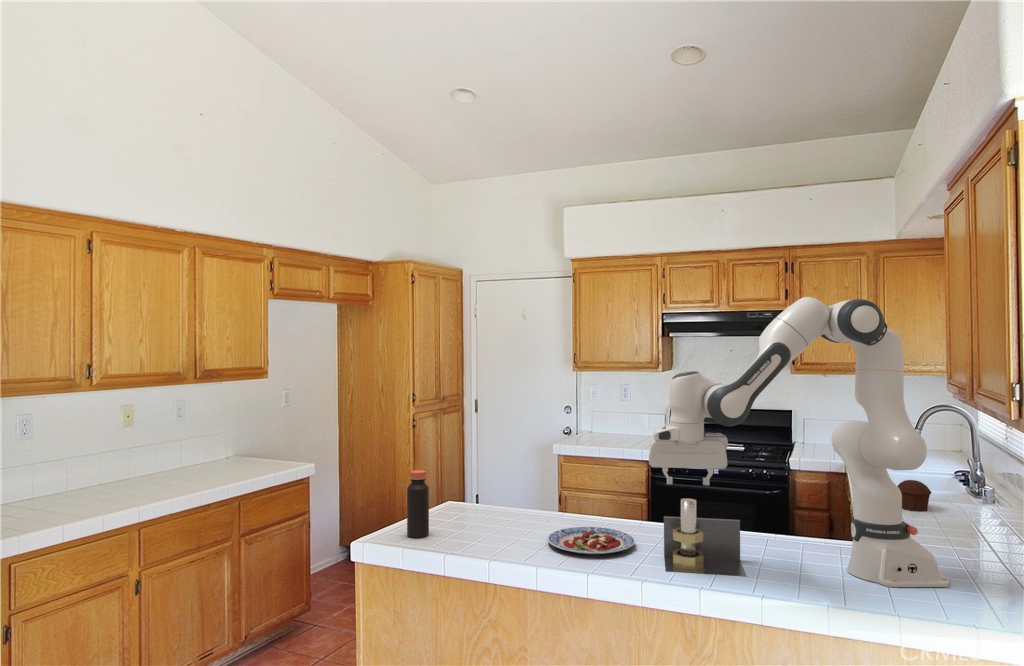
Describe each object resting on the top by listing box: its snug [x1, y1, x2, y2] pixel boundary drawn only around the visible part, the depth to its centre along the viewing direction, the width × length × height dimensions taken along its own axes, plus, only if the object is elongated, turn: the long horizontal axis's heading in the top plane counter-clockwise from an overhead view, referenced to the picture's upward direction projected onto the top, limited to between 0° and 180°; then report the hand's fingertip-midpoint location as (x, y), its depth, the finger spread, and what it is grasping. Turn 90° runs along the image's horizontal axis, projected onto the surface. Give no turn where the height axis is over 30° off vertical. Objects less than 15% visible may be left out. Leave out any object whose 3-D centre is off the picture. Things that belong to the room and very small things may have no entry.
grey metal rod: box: [680, 498, 697, 557], centre depth 175 cm, size 4×4×17 cm
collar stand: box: [663, 515, 748, 578], centre depth 174 cm, size 20×13×12 cm, turn 79°
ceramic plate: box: [546, 526, 636, 556], centre depth 196 cm, size 26×26×3 cm
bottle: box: [406, 469, 430, 539], centre depth 207 cm, size 7×7×20 cm
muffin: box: [897, 479, 932, 513], centre depth 238 cm, size 12×11×10 cm
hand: (687, 484), depth 176 cm, fingers open, 8 cm apart
